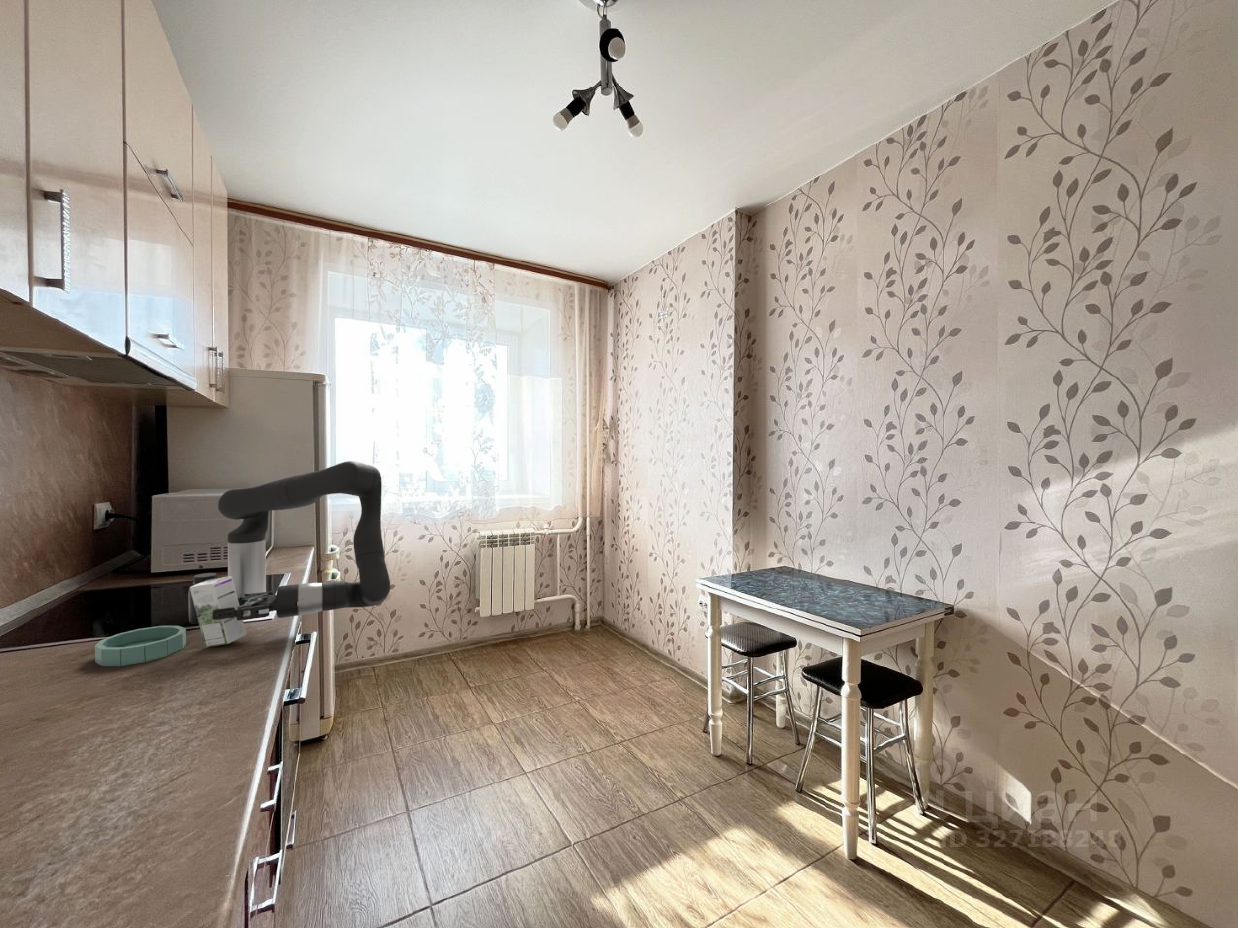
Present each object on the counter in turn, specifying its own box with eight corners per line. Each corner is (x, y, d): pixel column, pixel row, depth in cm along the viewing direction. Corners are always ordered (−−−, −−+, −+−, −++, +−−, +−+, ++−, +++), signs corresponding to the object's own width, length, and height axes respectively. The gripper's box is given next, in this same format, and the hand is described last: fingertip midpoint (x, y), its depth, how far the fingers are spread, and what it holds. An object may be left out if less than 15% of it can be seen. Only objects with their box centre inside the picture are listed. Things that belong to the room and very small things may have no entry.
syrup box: (248, 633, 118) (233, 574, 117) (227, 644, 112) (211, 582, 111) (225, 637, 118) (210, 578, 117) (203, 648, 112) (188, 586, 111)
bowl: (109, 648, 112) (109, 632, 112) (190, 636, 120) (190, 621, 120) (85, 671, 100) (85, 654, 100) (177, 656, 108) (176, 640, 108)
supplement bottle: (182, 623, 129) (181, 576, 129) (210, 614, 136) (209, 570, 135) (201, 625, 127) (200, 578, 127) (229, 617, 134) (228, 572, 133)
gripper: (301, 577, 129) (220, 586, 120) (299, 591, 117) (210, 601, 108) (301, 606, 129) (221, 617, 121) (299, 623, 117) (210, 635, 108)
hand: (216, 609), depth 114 cm, fingers closed on syrup box, 8 cm apart
